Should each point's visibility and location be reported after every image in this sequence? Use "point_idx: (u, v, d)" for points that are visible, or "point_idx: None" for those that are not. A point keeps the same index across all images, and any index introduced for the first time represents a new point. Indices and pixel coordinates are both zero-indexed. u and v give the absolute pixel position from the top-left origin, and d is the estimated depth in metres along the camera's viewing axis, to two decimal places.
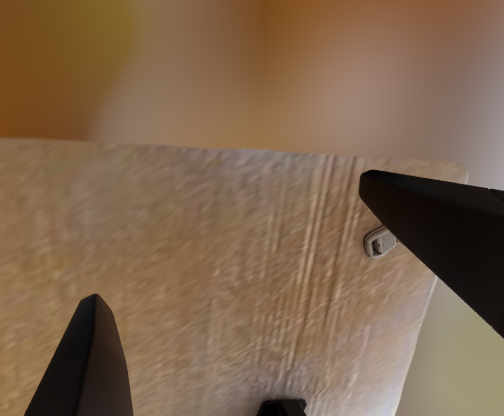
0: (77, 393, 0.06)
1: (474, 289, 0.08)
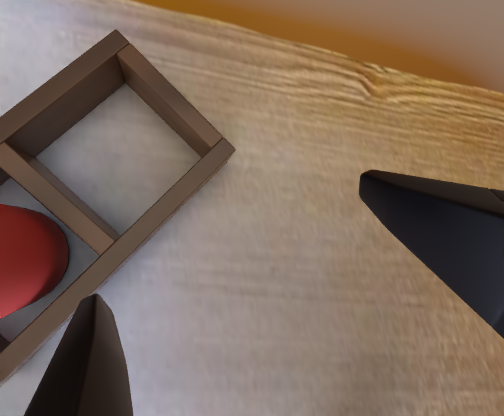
0: (77, 393, 0.06)
1: (474, 289, 0.08)
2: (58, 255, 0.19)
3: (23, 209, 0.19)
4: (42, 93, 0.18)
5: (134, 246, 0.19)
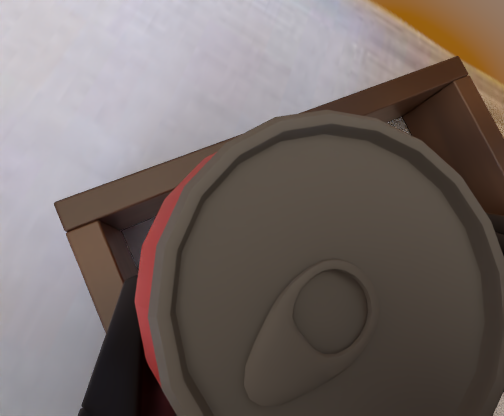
0: (139, 361, 0.06)
1: None
2: None
3: None
4: (370, 95, 0.15)
5: None
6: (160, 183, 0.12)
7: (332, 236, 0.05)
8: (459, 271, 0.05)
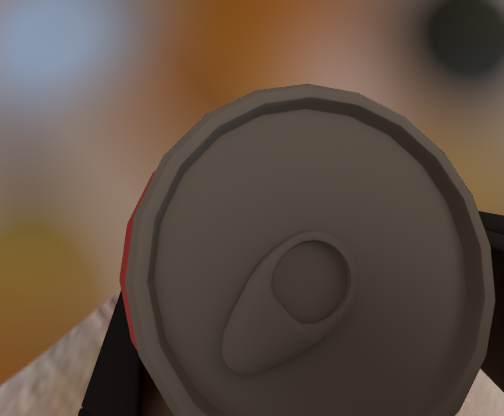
0: (139, 361, 0.06)
1: None
2: None
3: None
4: None
5: None
6: None
7: (313, 209, 0.05)
8: (441, 245, 0.05)
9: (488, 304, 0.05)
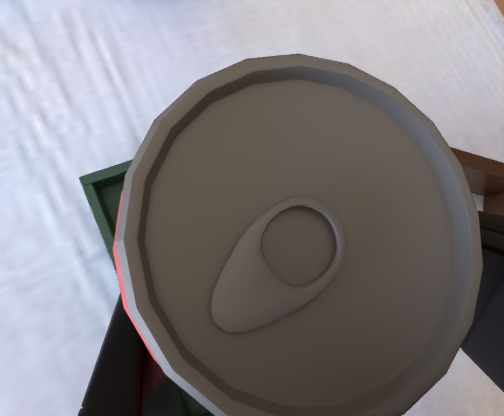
0: (139, 361, 0.06)
1: None
2: None
3: None
4: None
5: None
6: (468, 161, 0.23)
7: (303, 177, 0.05)
8: (430, 215, 0.05)
9: (476, 270, 0.05)
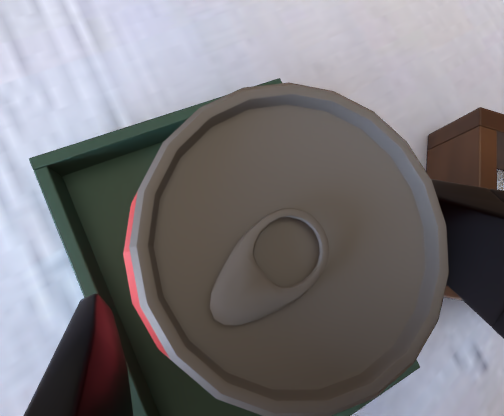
0: (77, 393, 0.06)
1: (474, 289, 0.08)
2: None
3: None
4: None
5: None
6: None
7: (292, 191, 0.05)
8: (404, 225, 0.06)
9: (442, 274, 0.05)
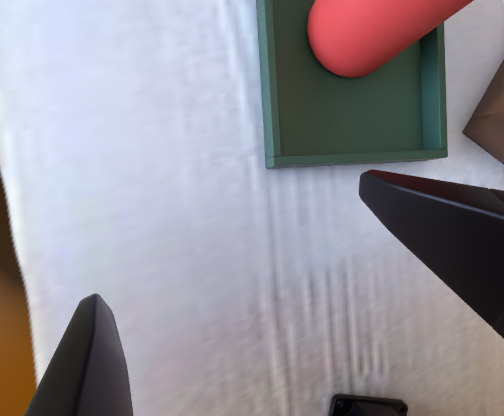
0: (77, 393, 0.06)
1: (474, 289, 0.08)
2: None
3: None
4: None
5: None
6: None
7: None
8: None
9: None
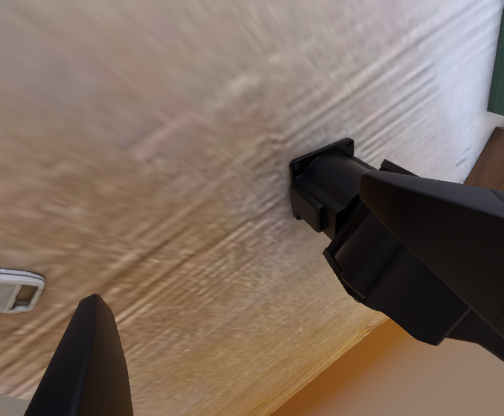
0: (77, 393, 0.06)
1: (474, 289, 0.08)
2: None
3: None
4: None
5: None
6: None
7: None
8: None
9: None
